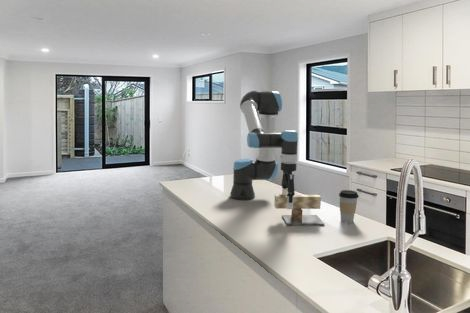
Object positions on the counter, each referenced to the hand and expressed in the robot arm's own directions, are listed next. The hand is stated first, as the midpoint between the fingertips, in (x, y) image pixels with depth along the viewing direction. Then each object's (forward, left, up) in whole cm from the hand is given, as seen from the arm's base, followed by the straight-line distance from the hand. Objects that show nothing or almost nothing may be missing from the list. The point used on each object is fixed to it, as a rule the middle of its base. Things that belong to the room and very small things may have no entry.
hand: (287, 205), depth 186 cm
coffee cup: (+22, +22, -8) cm, 32 cm away
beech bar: (+4, +3, -1) cm, 5 cm away
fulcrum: (+6, +6, -8) cm, 11 cm away
